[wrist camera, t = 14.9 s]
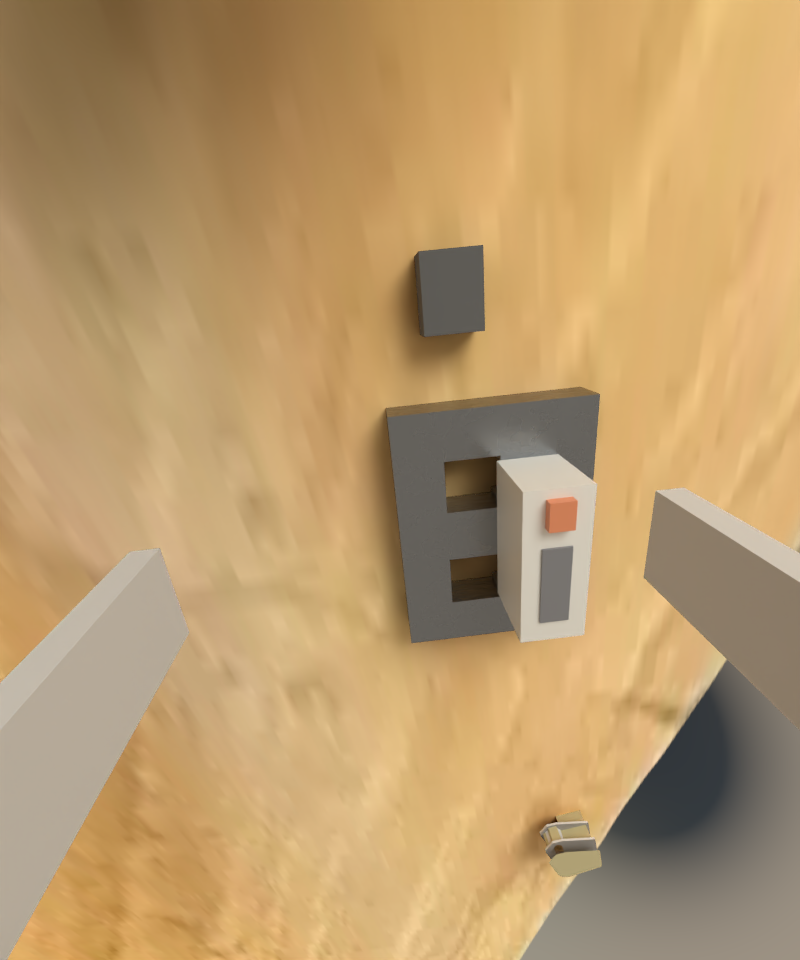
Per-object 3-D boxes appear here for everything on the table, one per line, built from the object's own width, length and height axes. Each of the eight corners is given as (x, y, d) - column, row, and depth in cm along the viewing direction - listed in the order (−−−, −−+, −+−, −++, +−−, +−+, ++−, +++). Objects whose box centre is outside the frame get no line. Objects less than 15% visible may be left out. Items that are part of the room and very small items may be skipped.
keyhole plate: (408, 620, 48) (411, 643, 45) (385, 408, 39) (387, 417, 36) (567, 601, 48) (581, 622, 45) (580, 386, 39) (599, 394, 36)
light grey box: (489, 575, 46) (523, 649, 36) (487, 450, 41) (526, 496, 31) (540, 569, 46) (588, 641, 36) (545, 444, 41) (602, 488, 31)
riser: (420, 334, 37) (424, 336, 34) (414, 256, 35) (418, 251, 32) (475, 328, 37) (484, 330, 34) (473, 250, 35) (483, 245, 32)
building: (589, 791, 62) (609, 835, 57) (594, 828, 65) (614, 872, 60) (521, 807, 62) (535, 852, 57) (530, 843, 65) (544, 888, 60)
